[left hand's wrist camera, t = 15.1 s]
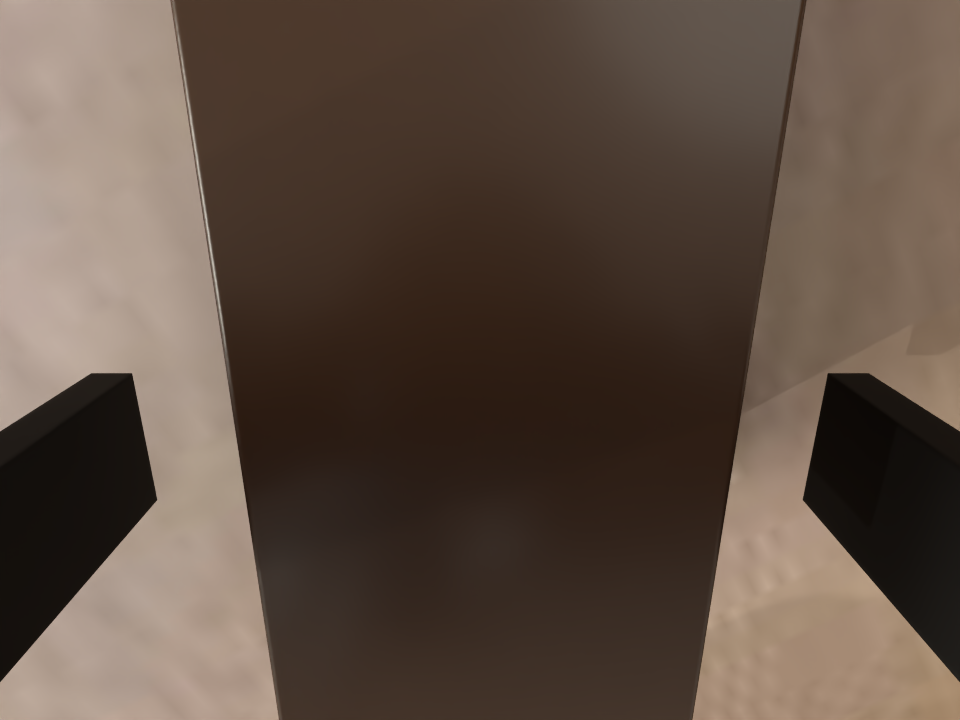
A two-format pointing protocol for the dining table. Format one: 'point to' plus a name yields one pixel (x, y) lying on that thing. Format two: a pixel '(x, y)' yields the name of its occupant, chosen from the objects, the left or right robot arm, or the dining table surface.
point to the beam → (487, 334)
